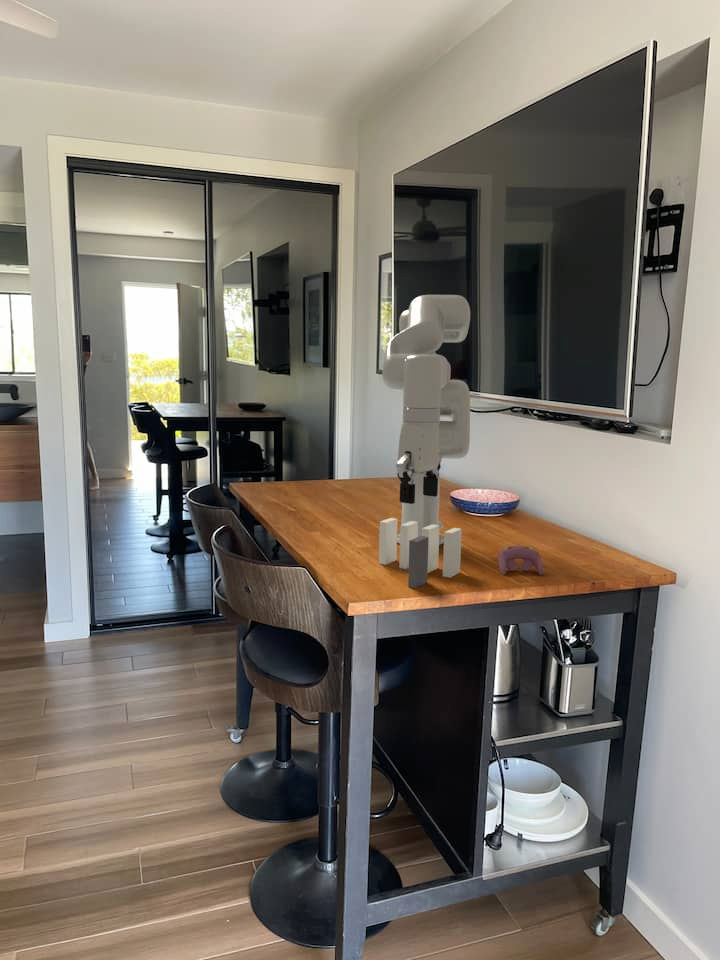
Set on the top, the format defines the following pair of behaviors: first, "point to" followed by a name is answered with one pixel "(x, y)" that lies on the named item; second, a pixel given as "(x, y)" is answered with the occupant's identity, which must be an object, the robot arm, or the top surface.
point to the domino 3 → (418, 561)
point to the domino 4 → (432, 545)
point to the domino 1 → (388, 541)
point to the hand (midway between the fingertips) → (418, 499)
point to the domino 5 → (452, 552)
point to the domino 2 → (406, 541)
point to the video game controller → (519, 552)
